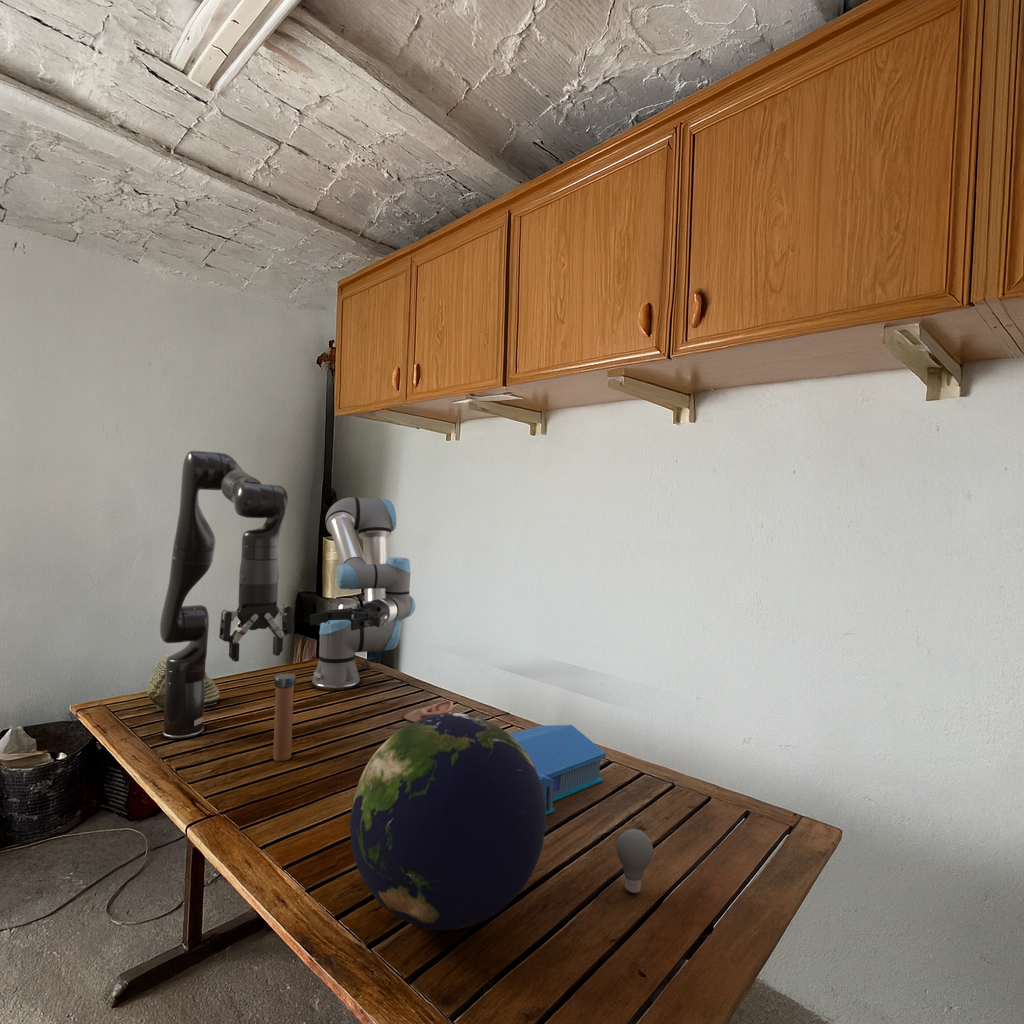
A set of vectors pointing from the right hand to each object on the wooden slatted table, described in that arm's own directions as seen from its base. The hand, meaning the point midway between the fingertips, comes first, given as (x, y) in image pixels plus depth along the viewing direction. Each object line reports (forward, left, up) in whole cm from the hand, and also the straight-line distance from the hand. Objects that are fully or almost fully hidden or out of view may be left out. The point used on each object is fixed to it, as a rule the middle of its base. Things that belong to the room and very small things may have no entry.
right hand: (331, 622), depth 169 cm
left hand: (+37, -7, 0) cm, 38 cm away
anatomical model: (-13, +26, -30) cm, 42 cm away
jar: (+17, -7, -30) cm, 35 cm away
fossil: (-18, -45, -30) cm, 57 cm away
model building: (+32, +49, -30) cm, 65 cm away
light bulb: (+68, +66, -30) cm, 99 cm away
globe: (+74, +35, -30) cm, 87 cm away
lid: (+17, -7, -10) cm, 21 cm away
